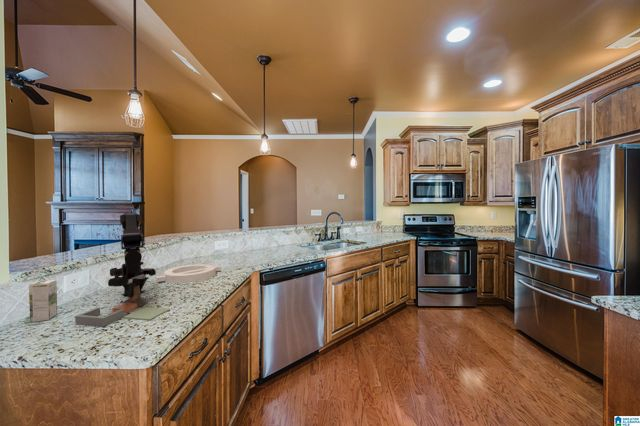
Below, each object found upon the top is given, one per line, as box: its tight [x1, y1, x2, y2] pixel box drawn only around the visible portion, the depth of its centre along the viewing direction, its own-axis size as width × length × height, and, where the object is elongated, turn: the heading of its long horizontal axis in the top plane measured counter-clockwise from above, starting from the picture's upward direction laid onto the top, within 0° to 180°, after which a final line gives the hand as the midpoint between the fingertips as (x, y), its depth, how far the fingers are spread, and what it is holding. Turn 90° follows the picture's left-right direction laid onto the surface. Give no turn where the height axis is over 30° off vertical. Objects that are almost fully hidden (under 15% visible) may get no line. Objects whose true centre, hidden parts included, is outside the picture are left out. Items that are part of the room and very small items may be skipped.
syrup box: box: [28, 279, 58, 323], centre depth 104 cm, size 6×6×14 cm
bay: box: [74, 307, 125, 327], centre depth 101 cm, size 8×12×3 cm, turn 79°
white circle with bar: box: [155, 263, 222, 284], centre depth 161 cm, size 28×28×5 cm
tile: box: [111, 303, 138, 314], centre depth 111 cm, size 6×6×2 cm
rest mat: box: [122, 306, 170, 321], centre depth 107 cm, size 10×12×1 cm
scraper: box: [122, 285, 148, 308], centre depth 116 cm, size 4×8×8 cm, turn 80°
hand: (134, 296), depth 116 cm, fingers closed on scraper, 3 cm apart
